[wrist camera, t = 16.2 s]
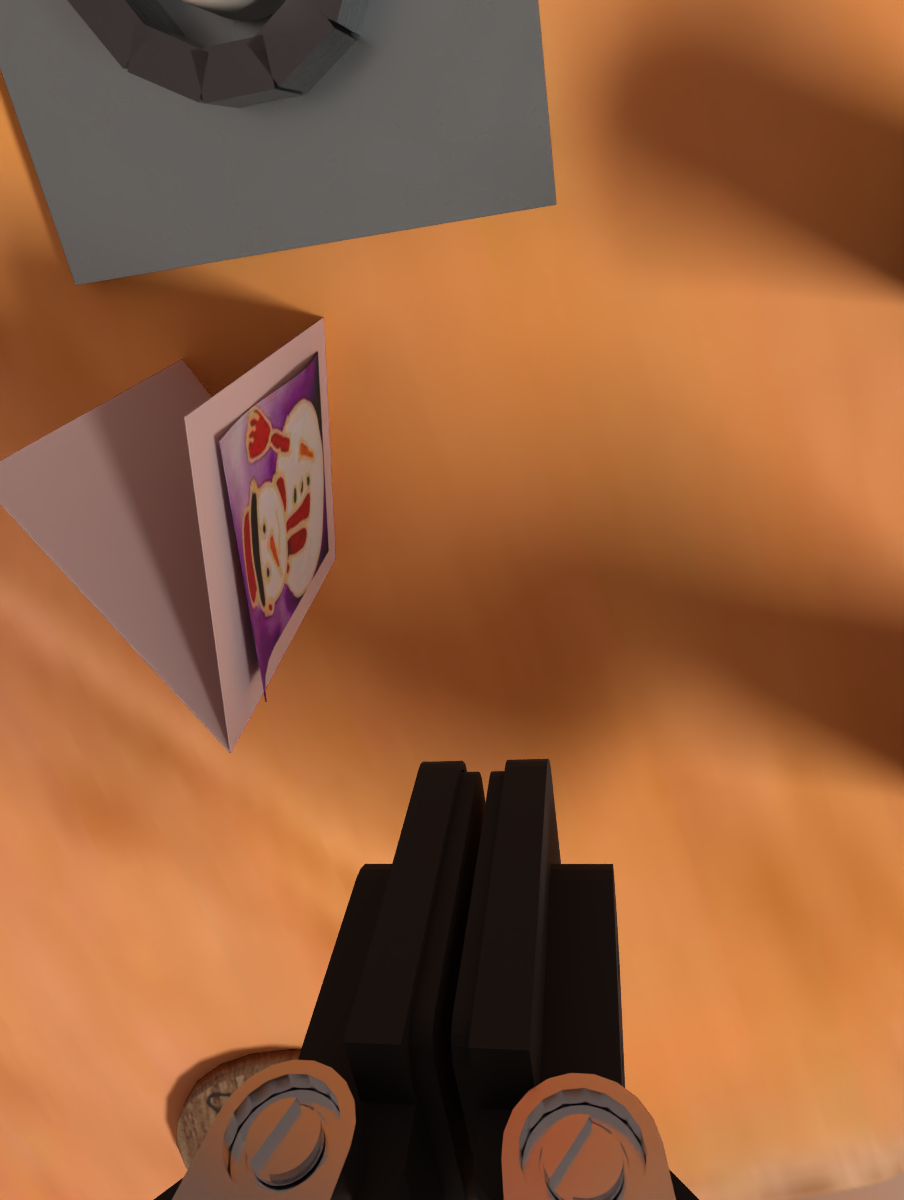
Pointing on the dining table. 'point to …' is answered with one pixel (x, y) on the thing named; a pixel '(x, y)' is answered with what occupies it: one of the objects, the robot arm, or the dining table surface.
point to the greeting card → (194, 520)
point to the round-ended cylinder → (239, 8)
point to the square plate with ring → (273, 123)
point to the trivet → (219, 1096)
